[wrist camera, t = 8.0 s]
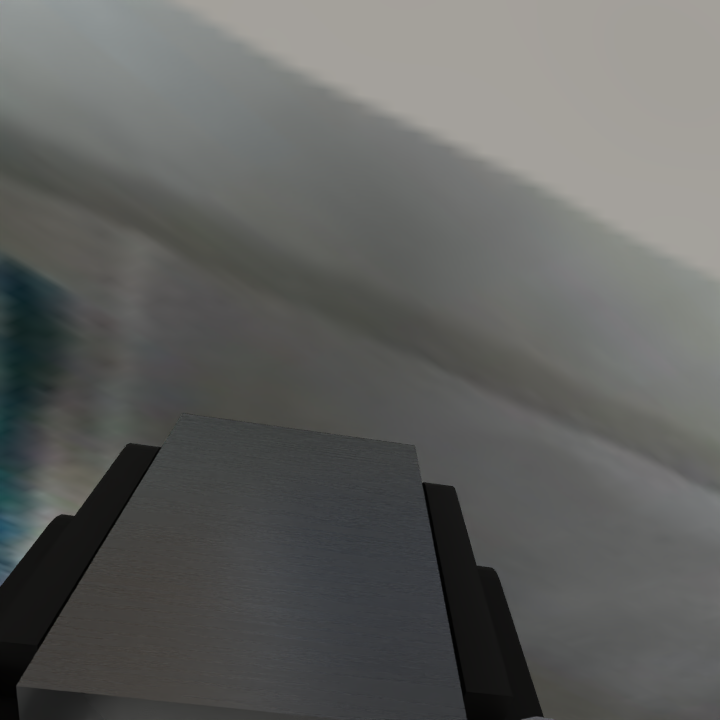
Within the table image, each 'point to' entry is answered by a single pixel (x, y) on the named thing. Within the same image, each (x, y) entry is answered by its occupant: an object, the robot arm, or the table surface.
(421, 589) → the dark gray beam
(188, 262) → the table surface
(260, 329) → the table surface
